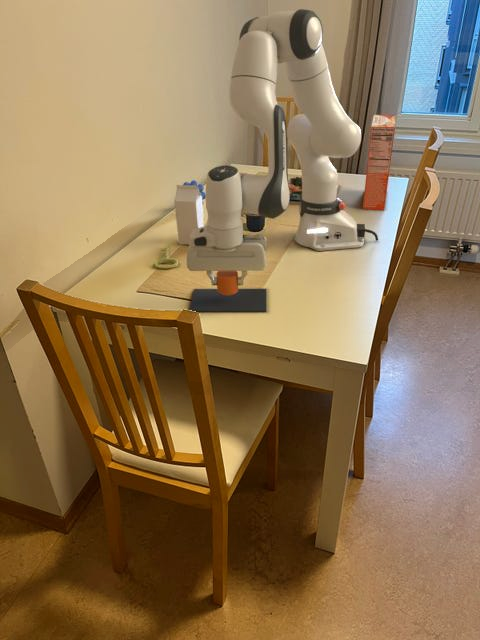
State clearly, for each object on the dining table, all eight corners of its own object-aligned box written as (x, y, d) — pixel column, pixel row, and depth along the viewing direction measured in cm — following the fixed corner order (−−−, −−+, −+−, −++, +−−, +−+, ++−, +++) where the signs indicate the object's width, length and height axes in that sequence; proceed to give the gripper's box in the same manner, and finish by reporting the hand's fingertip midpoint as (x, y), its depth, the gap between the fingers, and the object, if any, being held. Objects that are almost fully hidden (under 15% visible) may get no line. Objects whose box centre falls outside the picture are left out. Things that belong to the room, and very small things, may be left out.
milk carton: (199, 245, 166) (194, 189, 156) (178, 244, 167) (173, 188, 157) (204, 237, 171) (201, 182, 161) (184, 236, 173) (179, 181, 163)
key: (168, 251, 162) (168, 245, 161) (180, 266, 152) (179, 260, 151) (147, 256, 160) (146, 249, 158) (157, 271, 150) (156, 265, 149)
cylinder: (238, 285, 134) (238, 268, 131) (237, 295, 129) (237, 278, 127) (218, 285, 134) (217, 268, 132) (216, 295, 130) (215, 278, 127)
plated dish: (244, 200, 204) (244, 182, 200) (262, 181, 227) (262, 165, 223) (330, 207, 195) (332, 188, 191) (339, 187, 218) (341, 170, 214)
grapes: (210, 208, 197) (209, 177, 190) (204, 214, 191) (202, 183, 185) (183, 206, 200) (180, 176, 194) (176, 211, 194) (173, 181, 188)
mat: (266, 289, 138) (266, 288, 138) (266, 312, 128) (266, 310, 128) (194, 290, 139) (194, 288, 139) (188, 312, 129) (188, 310, 129)
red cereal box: (365, 190, 210) (373, 114, 194) (385, 191, 208) (395, 115, 193) (362, 208, 191) (371, 126, 176) (384, 210, 190) (395, 127, 174)
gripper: (267, 229, 126) (267, 278, 133) (186, 230, 127) (190, 279, 134) (267, 239, 121) (267, 290, 128) (183, 239, 122) (187, 290, 129)
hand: (227, 284), depth 131 cm, fingers closed on cylinder, 5 cm apart
